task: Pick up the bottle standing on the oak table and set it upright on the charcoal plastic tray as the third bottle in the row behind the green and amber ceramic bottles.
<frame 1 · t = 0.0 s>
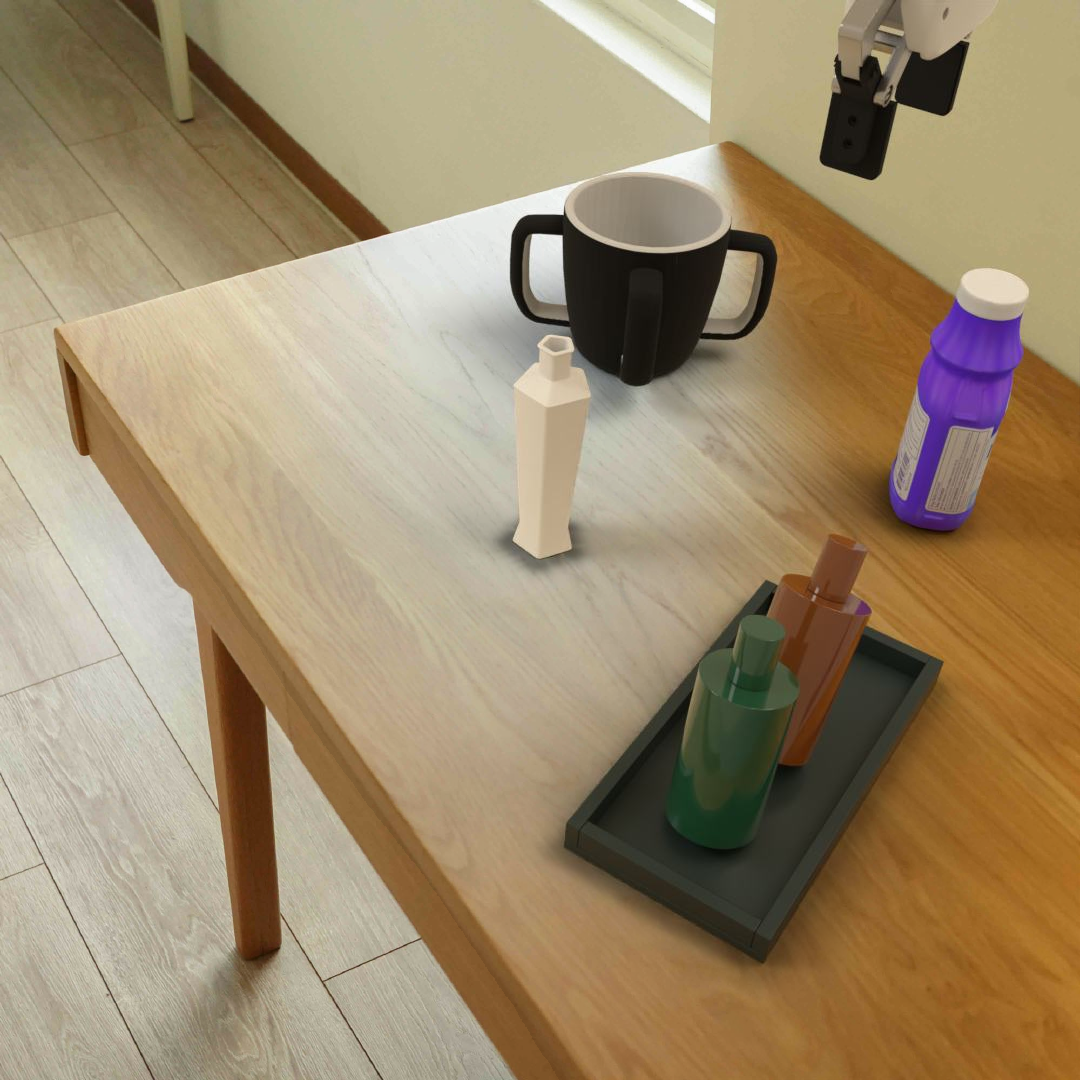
hand: (887, 138, 71), 28 cm above the table, tool pointing down, fingers open, 9 cm apart
bottle: (926, 506, 93), on the table
tray: (761, 761, 75), on the table
middle bottle: (766, 741, 74), point 2 cm above the table, tilted 28°, touching tray
far bottle: (711, 815, 70), point 1 cm above the table, tilted 12°, touching tray
mug: (632, 350, 105), on the table
perfume bottle: (542, 542, 88), on the table
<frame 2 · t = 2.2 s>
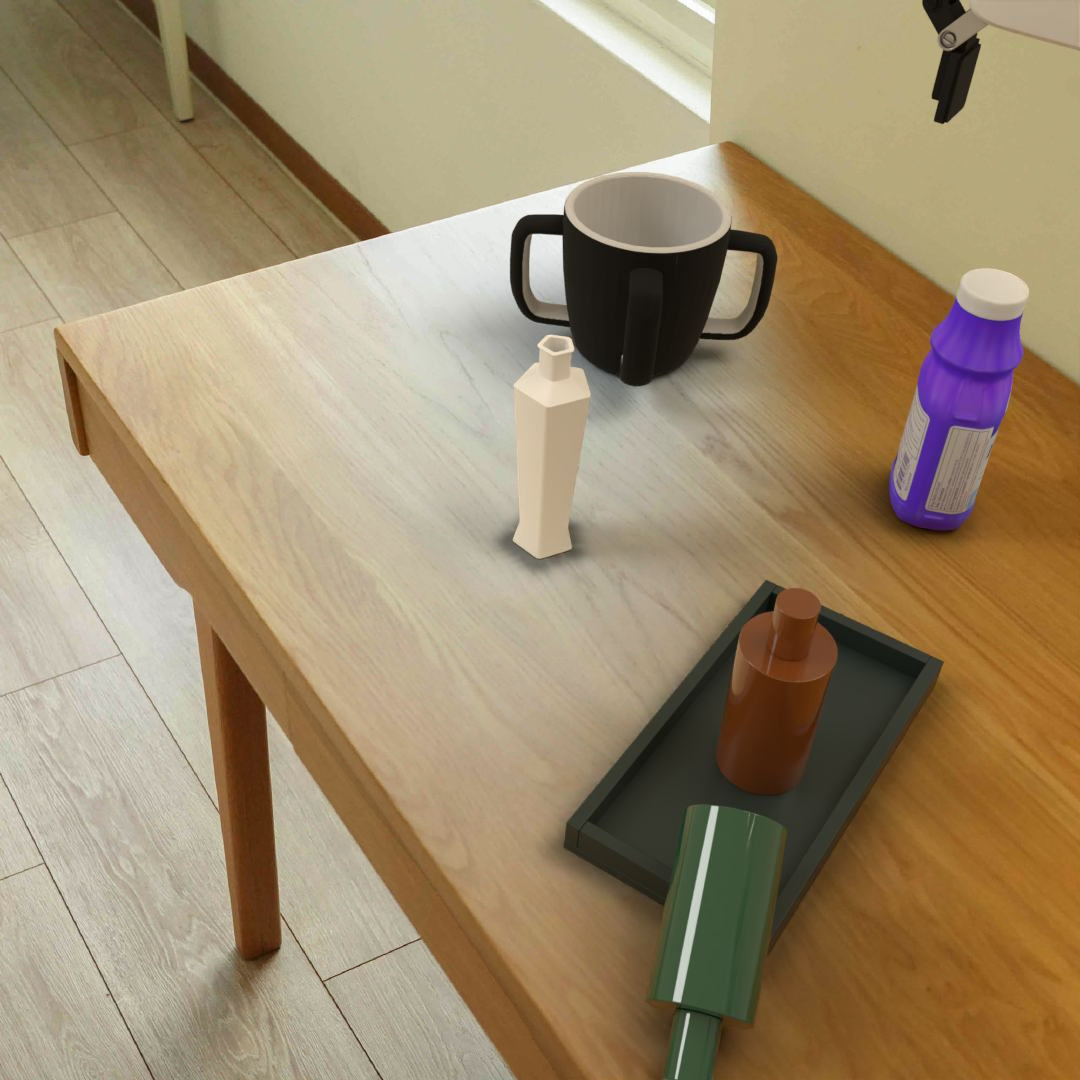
hand: (1030, 140, 75), 26 cm above the table, tool pointing down, fingers open, 9 cm apart
middle bottle: (760, 759, 74), point 1 cm above the table, touching tray
far bottle: (735, 821, 64), point 6 cm above the table, tilted 114°, touching tray
everything else where it was.
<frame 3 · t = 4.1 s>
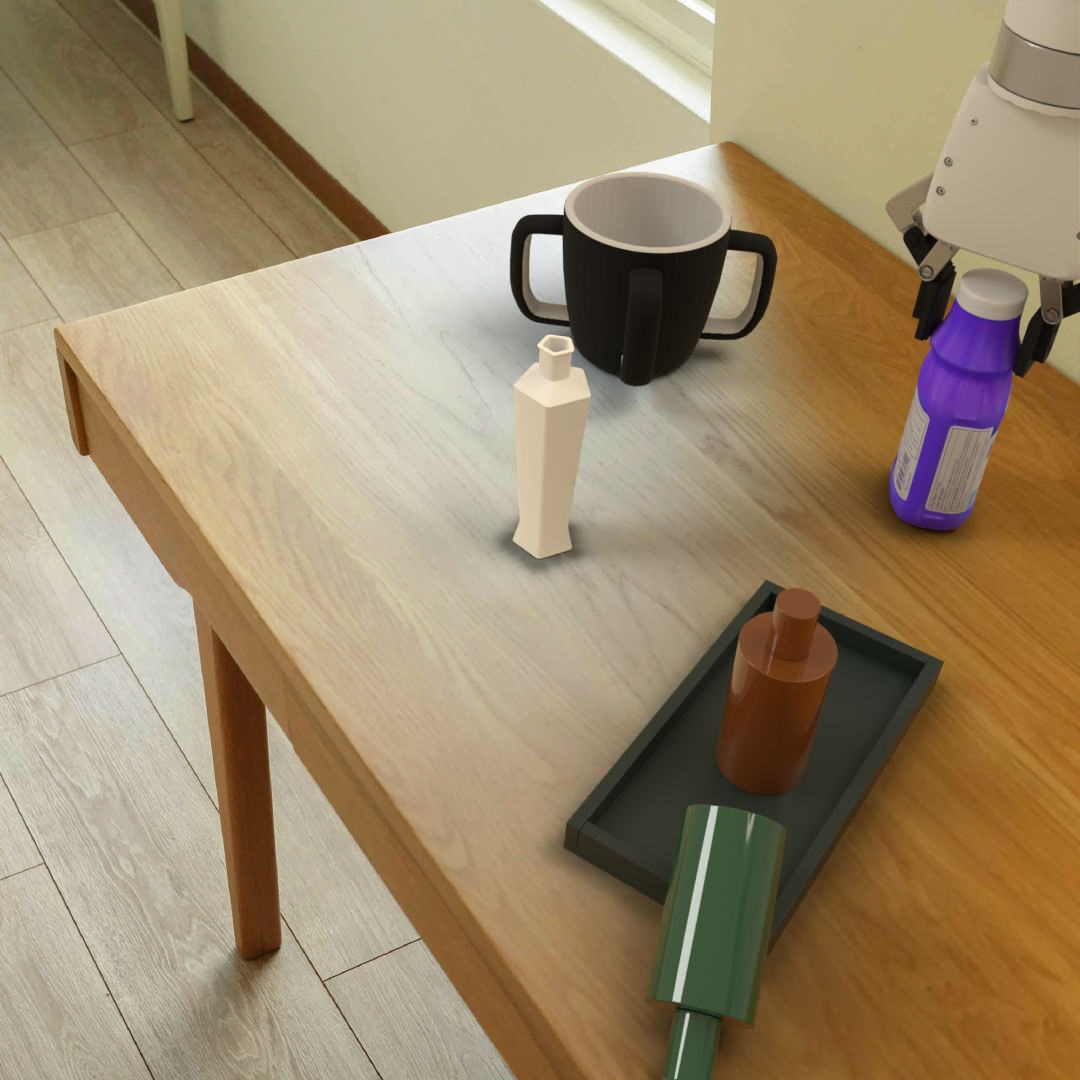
hand: (976, 346, 84), 13 cm above the table, tool pointing down, fingers closed on bottle, 5 cm apart
bottle: (926, 506, 93), on the table, touching gripper
everything else where it was.
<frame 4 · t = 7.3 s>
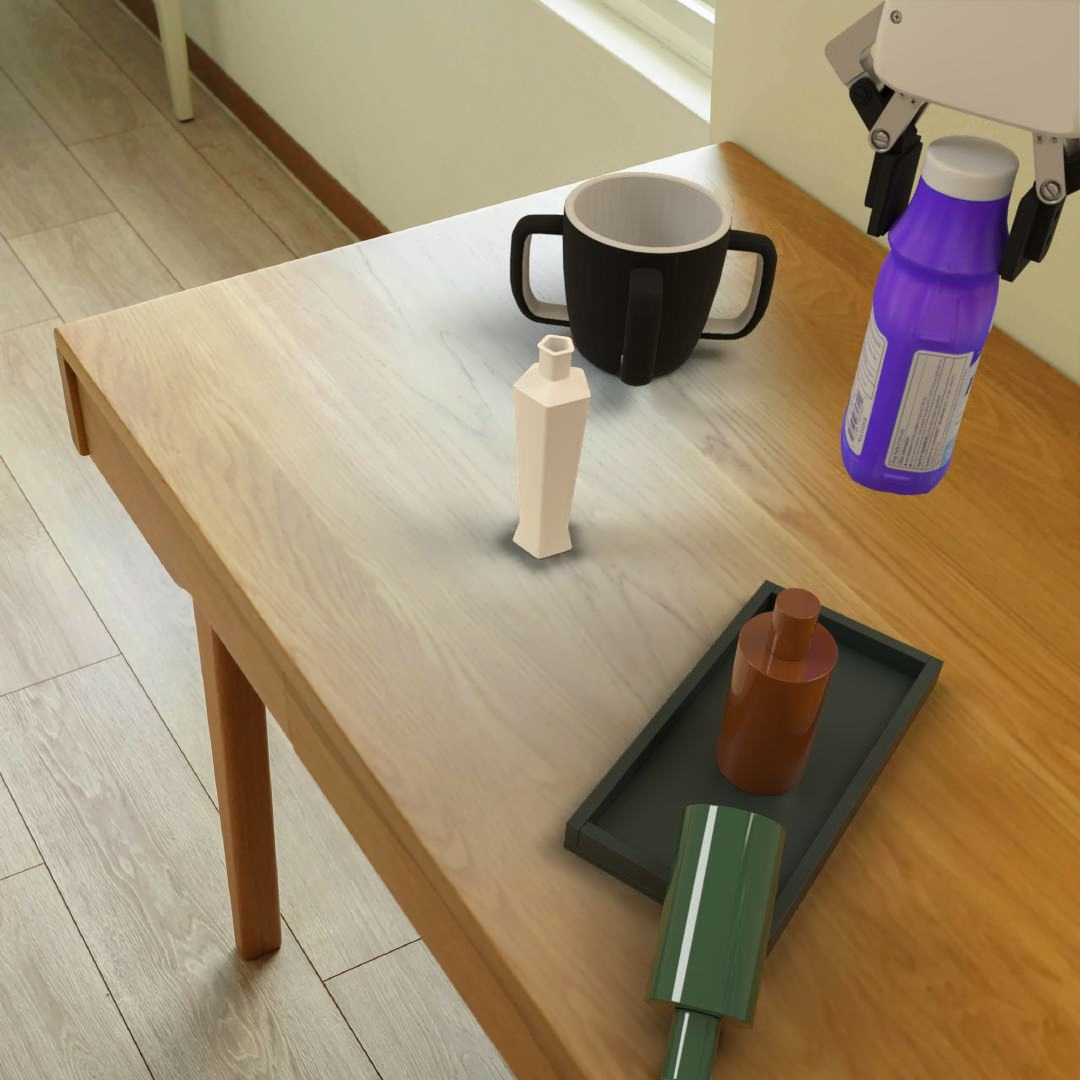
hand: (949, 243, 62), 28 cm above the table, tool pointing down, fingers closed on bottle, 5 cm apart
bottle: (889, 466, 71), point 15 cm above the table, touching gripper
everything else where it was.
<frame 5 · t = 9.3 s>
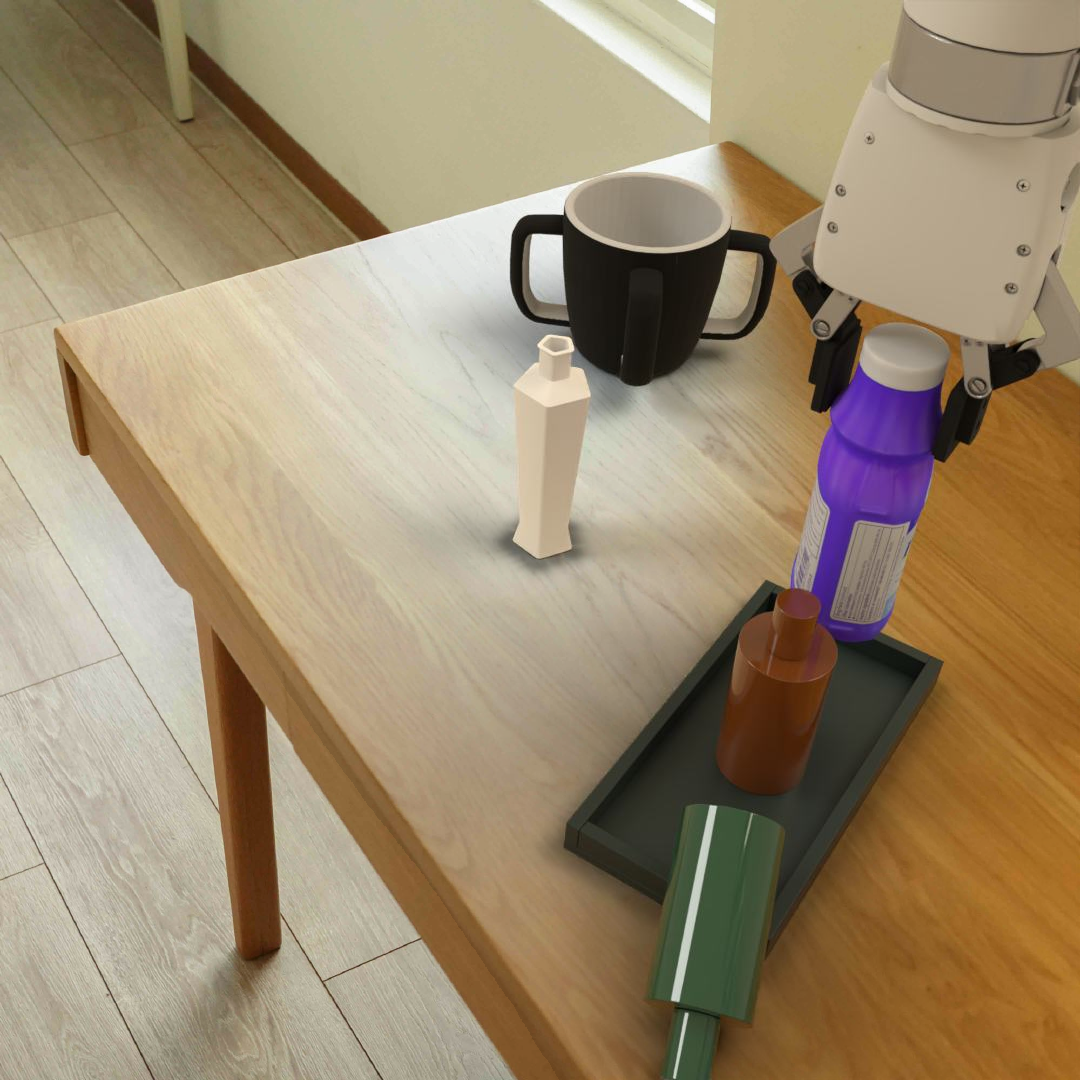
hand: (888, 419, 66), 19 cm above the table, tool pointing down, fingers closed on bottle, 5 cm apart
bottle: (836, 609, 75), point 6 cm above the table, touching gripper
everything else where it was.
when the fingers open (15 cm above the table, at t = 10.7 s): bottle drops 1 cm, resting on tray.
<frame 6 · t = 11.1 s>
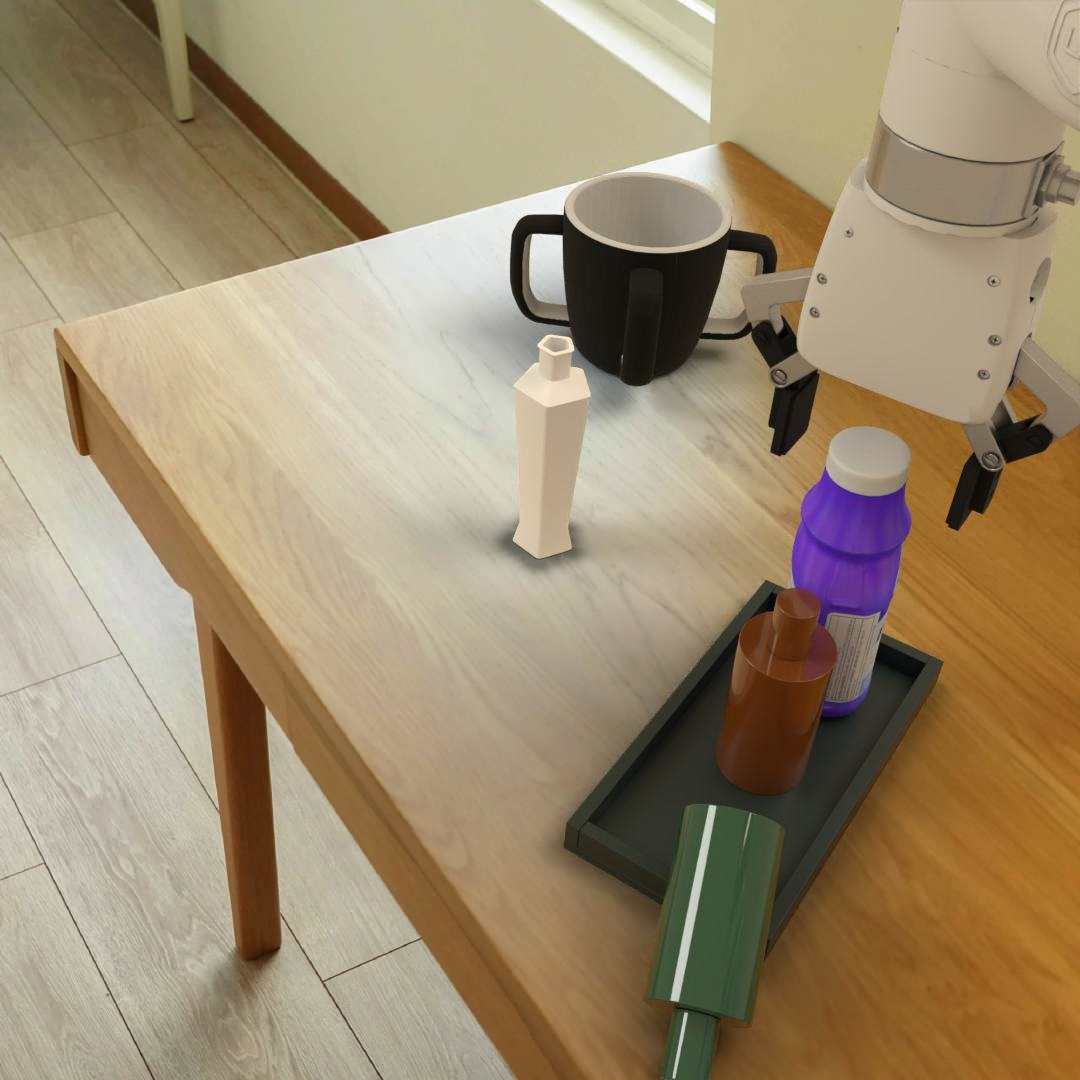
hand: (872, 477, 69), 16 cm above the table, tool pointing down, fingers open, 9 cm apart
bottle: (816, 682, 79), point 1 cm above the table, touching tray
everything else where it was.
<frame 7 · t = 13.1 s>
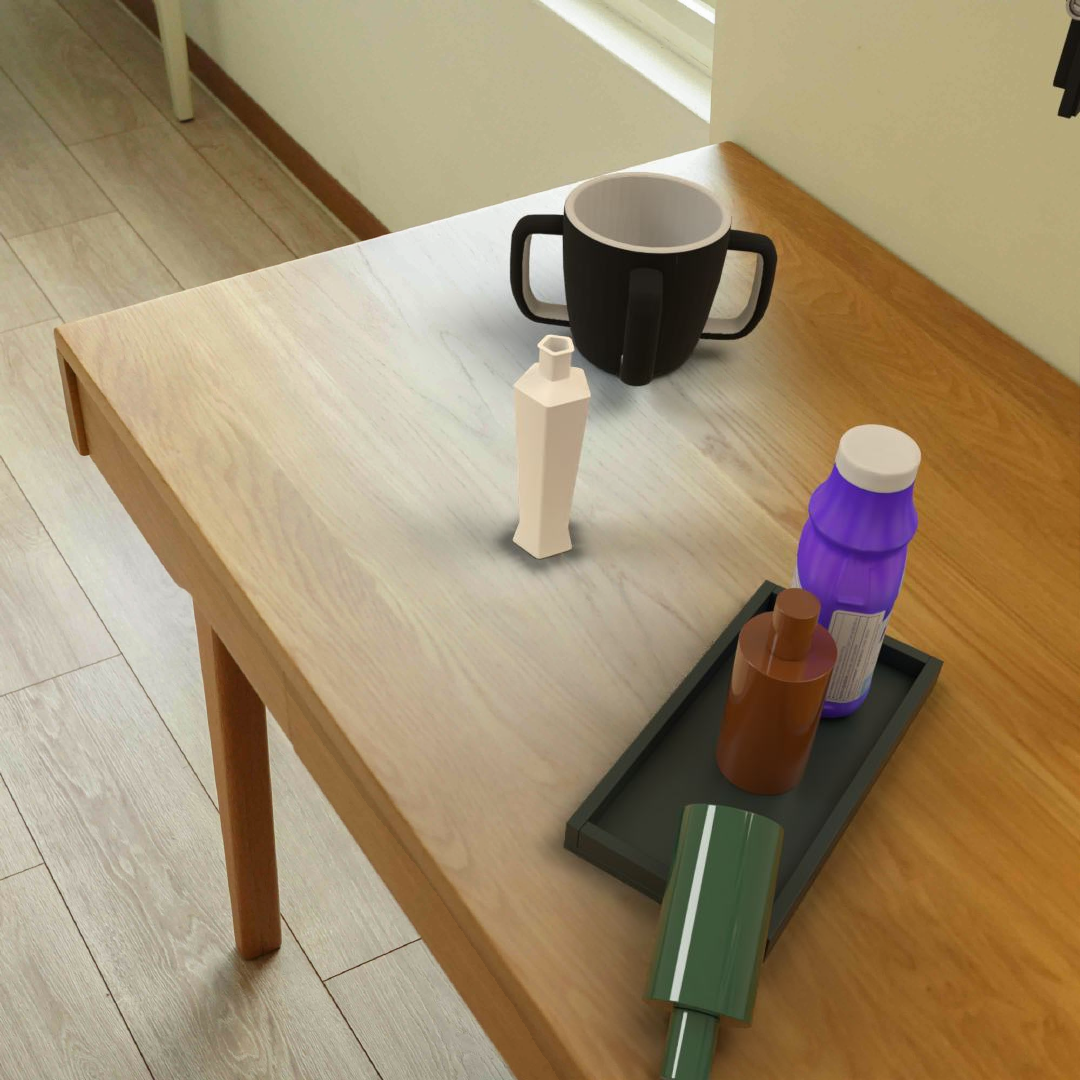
nothing on the table moved.
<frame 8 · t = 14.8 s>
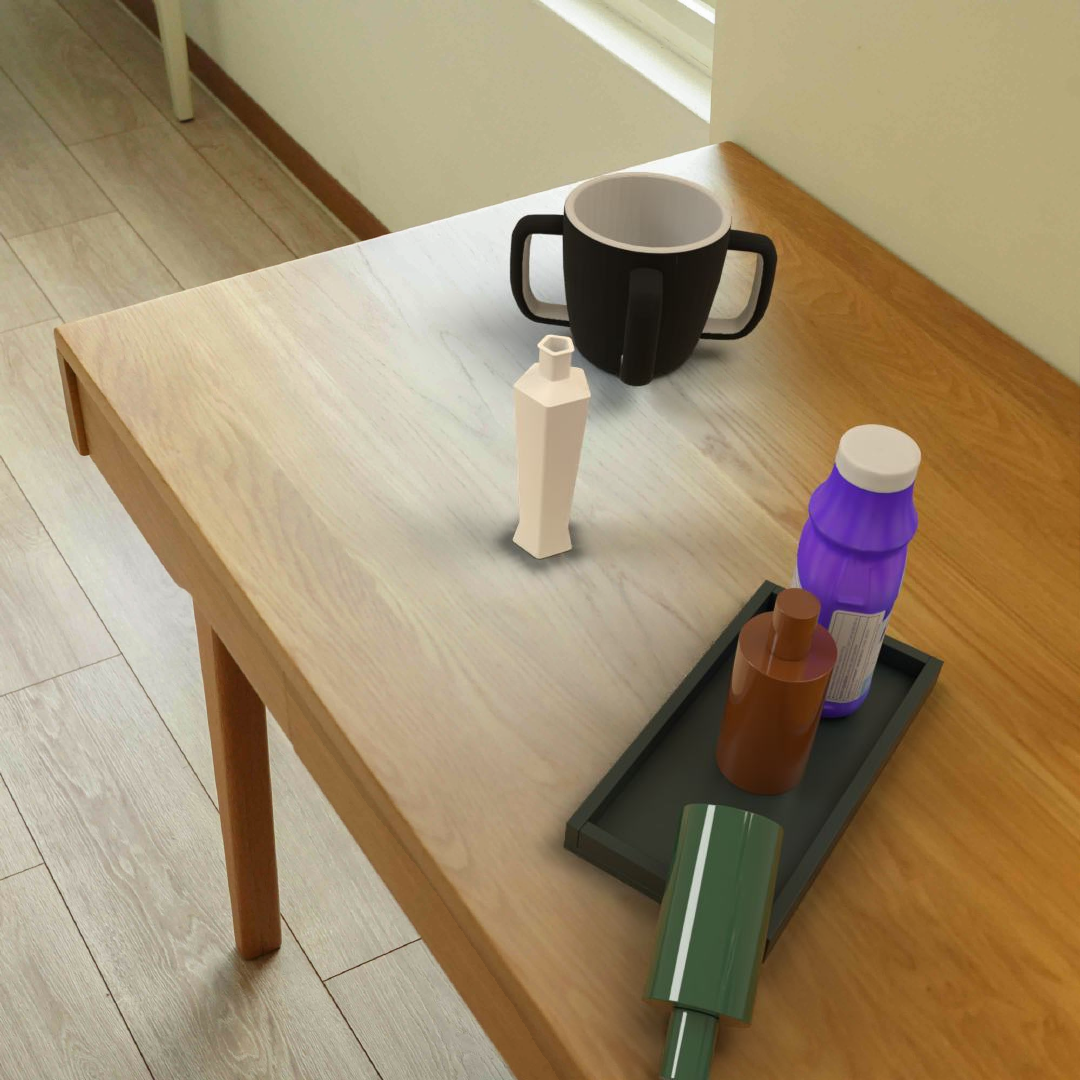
nothing on the table moved.
at the end: bottle 0.3 cm from the target spot in the tray, point 0.4 cm above the tray's base; bottle tilted 0°; bottle 15.9 cm from the far bottle (horizontally) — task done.
